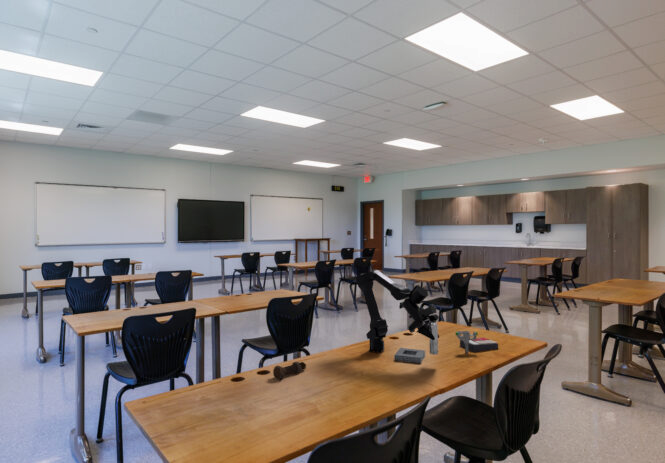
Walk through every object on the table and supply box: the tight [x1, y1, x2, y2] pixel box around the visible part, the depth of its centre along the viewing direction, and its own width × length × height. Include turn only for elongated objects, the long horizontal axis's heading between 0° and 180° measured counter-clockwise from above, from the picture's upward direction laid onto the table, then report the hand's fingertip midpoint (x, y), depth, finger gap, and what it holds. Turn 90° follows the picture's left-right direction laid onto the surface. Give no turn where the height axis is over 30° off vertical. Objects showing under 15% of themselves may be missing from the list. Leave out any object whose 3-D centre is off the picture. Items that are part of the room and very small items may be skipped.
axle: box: [429, 322, 439, 356], centre depth 172 cm, size 4×4×13 cm
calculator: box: [459, 337, 499, 353], centre depth 200 cm, size 11×4×15 cm
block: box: [393, 347, 426, 364], centre depth 184 cm, size 12×12×2 cm
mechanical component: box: [454, 330, 478, 354], centre depth 192 cm, size 3×10×10 cm, turn 89°
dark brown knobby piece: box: [272, 361, 307, 381], centre depth 165 cm, size 6×5×15 cm
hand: (436, 338), depth 171 cm, fingers closed on axle, 3 cm apart
